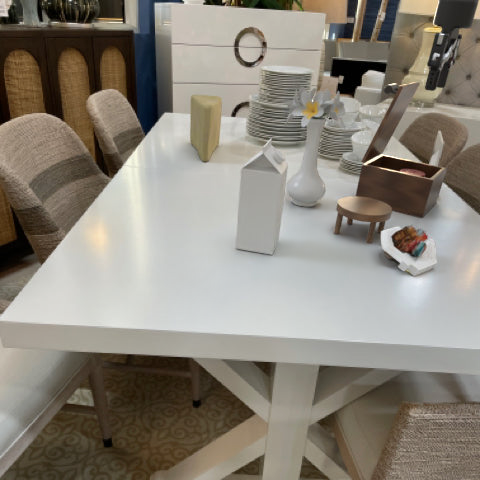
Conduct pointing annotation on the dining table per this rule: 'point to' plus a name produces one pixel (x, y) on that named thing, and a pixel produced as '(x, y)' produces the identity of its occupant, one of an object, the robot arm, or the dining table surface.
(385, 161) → the chest
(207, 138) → the cheese
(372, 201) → the stool
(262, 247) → the milk carton
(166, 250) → the dining table surface
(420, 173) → the can
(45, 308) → the dining table surface
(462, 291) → the dining table surface
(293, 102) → the flower vase
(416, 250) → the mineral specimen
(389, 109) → the lid
